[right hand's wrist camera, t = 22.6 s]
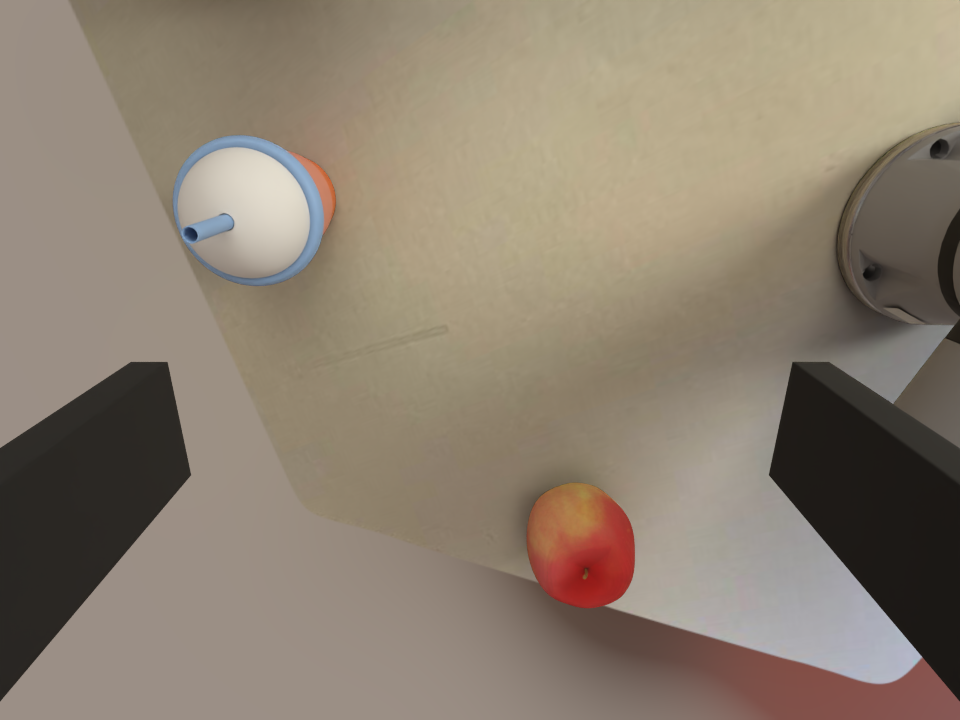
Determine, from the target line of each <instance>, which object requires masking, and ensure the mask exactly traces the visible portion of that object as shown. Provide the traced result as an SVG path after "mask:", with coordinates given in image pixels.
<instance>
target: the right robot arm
mask: <svg viewBox="0 0 960 720" xmlns="http://www.w3.org/2000/svg"><path fill="white" fill-rule="evenodd" d="M837 252H838V261H839V266H840V270H841V273H842V276H843V278H844V280H845V282H846V284H847V286H848V288H849V289H850V290H851V292H852V293H853V294H854V295H855V296H856V297H857V299H858V300H860V301H861V302H862V303H863V304H864V305H866V306H868V307H869V308H871V309H873V310H875V311H877V312H879V313H881V314H883V315H885V316H887V317H890V318H892V319H895V320H898V321H901V322H905V323H910V324H922V325H955V326H954V327H953V328H952V329H951V331H950V332H949V333H948V335H947V336H946V337H945V338H944V339H943V340H942V342H941V343H940V344H939V346H938V347H937V348H936V349H935V351H934V352H933V353H932V355H931V356H930V357H929V359H928V360H927V361H926V362H925V364H924V365H923V366H922V368H921V369H920V370H919V371H918V373H917V374H916V375H915V377H914V378H913V379H912V381H911V382H910V383H909V384H908V386H907V387H906V388H905V390H904V391H903V392H902V393H901V395H900V396H899V397H898V399H897V400H896V401H895V403H894V404H892V403H890V402H889V401H887V400H886V399H884V398H883V397H881V396H880V395H878V394H877V393H875V392H874V391H872V390H871V389H869V388H868V387H866V386H865V385H863V384H862V383H860V382H859V381H857V380H855V379H854V378H852V377H851V376H849V375H848V374H846V373H845V372H843V371H842V370H840V369H839V368H837V367H836V366H834V365H833V364H831V363H830V362H792V367H791V372H790V377H789V382H788V386H787V391H786V396H785V401H784V405H783V410H782V415H781V420H780V425H779V429H778V434H777V439H776V444H775V449H774V453H773V458H772V463H771V468H770V473H769V476H770V477H771V478H772V479H773V480H774V482H775V483H776V484H777V485H778V486H779V488H780V489H781V490H782V491H783V492H784V493H785V495H786V496H787V497H788V498H789V499H790V501H791V502H792V503H793V504H794V505H795V507H796V508H797V509H798V510H799V511H800V512H801V514H802V515H803V516H804V517H805V518H806V520H807V521H808V522H809V523H810V524H811V525H812V527H813V528H814V529H815V530H816V531H817V533H818V534H819V535H820V536H821V537H822V539H823V540H824V541H825V542H826V543H827V544H828V546H829V547H830V548H831V549H832V550H833V552H834V553H835V554H836V555H837V556H838V557H839V559H840V560H841V561H842V562H843V563H844V565H845V566H846V567H847V568H848V569H849V571H850V572H851V573H852V574H853V575H854V576H855V578H856V579H857V580H858V581H859V582H860V584H861V585H862V586H863V587H864V588H865V589H866V591H867V592H868V593H869V594H870V595H871V597H872V598H873V599H874V600H875V601H876V603H877V604H878V605H879V606H880V607H881V608H882V610H883V611H884V612H885V613H886V614H887V616H888V617H889V618H890V619H891V620H892V622H893V623H894V624H895V625H896V626H897V627H898V629H899V630H900V631H901V632H902V633H903V635H904V636H905V637H906V638H907V639H908V640H909V642H910V643H911V644H912V645H913V646H914V648H915V649H916V650H917V651H918V652H919V654H920V655H921V656H922V657H923V658H924V659H925V661H926V662H927V663H928V664H929V665H930V666H931V668H932V669H933V670H934V671H935V672H936V674H937V675H938V676H939V677H940V678H941V680H942V681H943V682H944V683H945V684H946V686H947V687H948V688H949V689H950V690H951V691H952V693H953V694H954V695H955V696H956V697H957V699H958V700H959V701H960V123H952V124H946V125H941V126H937V127H933V128H930V129H928V130H925V131H922V132H920V133H918V134H916V135H913V136H911V137H910V138H908V139H906V140H904V141H903V142H901V143H900V144H898V145H897V146H895V147H894V148H892V149H891V150H890V151H888V152H887V153H886V154H885V155H884V156H882V157H881V158H880V159H879V160H878V161H877V162H876V163H875V164H874V165H873V166H872V167H871V168H870V169H869V171H868V172H867V173H866V174H865V176H864V177H863V178H862V179H861V181H860V182H859V184H858V185H857V187H856V188H855V190H854V192H853V193H852V195H851V197H850V199H849V201H848V203H847V205H846V208H845V210H844V213H843V216H842V219H841V223H840V227H839V233H838V242H837ZM190 476H191V473H190V468H189V463H188V458H187V453H186V449H185V444H184V439H183V434H182V430H181V425H180V420H179V415H178V410H177V405H176V401H175V396H174V391H173V386H172V382H171V377H170V372H169V367H168V363H167V362H130V363H129V364H127V365H126V366H124V367H123V368H121V369H120V370H118V371H117V372H115V373H114V374H112V375H111V376H109V377H108V378H106V379H105V380H103V381H101V382H100V383H98V384H97V385H95V386H94V387H92V388H91V389H89V390H88V391H86V392H85V393H83V394H82V395H80V396H79V397H77V398H76V399H74V400H73V401H71V402H70V403H68V404H67V405H65V406H63V407H62V408H60V409H59V410H57V411H56V412H54V413H53V414H51V415H50V416H48V417H47V418H45V419H44V420H42V421H41V422H39V423H38V424H36V425H35V426H33V427H32V428H30V429H29V430H27V431H26V432H24V433H23V434H21V435H20V436H18V437H16V438H15V439H13V440H12V441H10V442H9V443H7V444H6V445H4V446H3V447H1V448H0V701H1V700H2V699H3V697H4V696H5V695H6V694H7V693H8V691H9V690H10V689H11V688H12V687H13V685H14V684H15V683H16V682H17V681H18V680H19V678H20V677H21V676H22V675H23V674H24V672H25V671H26V670H27V669H28V668H29V667H30V665H31V664H32V663H33V662H34V661H35V659H36V658H37V657H38V656H39V655H40V654H41V652H42V651H43V650H44V649H45V647H46V646H47V645H48V644H49V643H50V642H51V640H52V639H53V638H54V637H55V636H56V635H57V633H58V632H59V631H60V630H61V629H62V627H63V626H64V625H65V624H66V623H67V622H68V620H69V619H70V618H71V617H72V615H73V614H74V613H75V612H76V611H77V610H78V608H79V607H80V606H81V605H82V604H83V603H84V601H85V600H86V599H87V598H88V597H89V595H90V594H91V593H92V592H93V591H94V589H95V588H96V587H97V586H98V585H99V584H100V582H101V581H102V580H103V579H104V578H105V576H106V575H107V574H108V573H109V572H110V571H111V569H112V568H113V567H114V566H115V565H116V563H117V562H118V561H119V560H120V559H121V557H122V556H123V555H124V554H125V553H126V551H127V550H128V549H129V548H130V547H131V546H132V544H133V543H134V542H135V541H136V540H137V538H138V537H139V536H140V535H141V534H142V533H143V531H144V530H145V529H146V528H147V527H148V525H149V524H150V523H151V522H152V521H153V520H154V518H155V517H156V516H157V515H158V514H159V512H160V511H161V510H162V509H163V508H164V506H165V505H166V504H167V503H168V502H169V501H170V499H171V498H172V497H173V496H174V495H175V493H176V492H177V491H178V490H179V489H180V487H181V486H182V485H183V484H184V483H185V482H186V480H187V479H188V478H189V477H190Z"/></svg>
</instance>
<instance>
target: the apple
mask: <svg viewBox="0 0 960 720" xmlns="http://www.w3.org/2000/svg"><path fill="white" fill-rule="evenodd" d="M527 550H528V556H529V560H530V564H531V567H532V570H533V572H534V574H535V577H536V579H537V580H538V582H539V584H540V585H541V587H542V588H543V589H544V590H545V592H546V593H547V594H549V595H550V596H551V597H553V598H554V599H556V600H558V601H560V602H563V603H566V604H569V605H572V606H576V607H580V608H595V607H600V606H604V605H607V604H610V603H612V602H614V601H616V600H617V599H619V598H620V597H621V596H622V595H623V594H624V593H625V592H626V590H627V589H628V587H629V585H630V583H631V581H632V578H633V573H634V565H635V544H634V535H633V530H632V527H631V524H630V521H629V519H628V517H627V515H626V514H625V512H624V511H623V510H622V509H621V508H620V506H619V505H618V504H617V503H616V502H615V501H614V500H613V499H612V498H611V497H609V496H608V495H607V494H606V493H605V492H603V491H602V490H600V489H599V488H597V487H595V486H592V485H588V484H583V483H568V484H564V485H560V486H558V487H555V488H553V489H551V490H549V491H547V492H546V493H544V494H543V495H542V496H540V497H539V499H538V500H537V501H536V503H535V504H534V506H533V508H532V510H531V513H530V517H529V521H528V526H527Z"/></svg>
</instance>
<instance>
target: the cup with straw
mask: <svg viewBox="0 0 960 720" xmlns="http://www.w3.org/2000/svg"><path fill="white" fill-rule="evenodd" d="M335 204H336V198H335V192H334V188H333V185H332V183H331V181H330V179H329V177H328V176H327V174H326V173H325V172H324V171H323V169H322V168H320V167H319V166H318V165H317V164H316V163H314V162H312V161H311V160H309V159H306V158H304V157H302V156H300V155H298V154H296V153H293V152H289V151H286V150H285V149H283V148H281V147H280V146H278V145H276V144H274V143H272V142H270V141H267V140H264V139H261V138H257V137H252V136H245V135H233V136H226V137H221V138H217V139H215V140H212V141H210V142H208V143H206V144H204V145H202V146H201V147H200V148H198V149H197V150H196V151H195V152H193V153H192V154H191V155H190V156H189V158H188V159H187V160H186V161H185V163H184V164H183V166H182V167H181V169H180V171H179V173H178V176H177V179H176V182H175V186H174V191H173V211H174V217H175V221H176V224H177V227H178V230H179V232H180V235H181V237H182V239H183V241H184V242H185V244H186V246H187V247H188V249H189V250H190V251H191V253H192V254H193V255H194V256H195V257H196V258H197V259H198V260H199V261H200V262H201V263H202V264H203V265H204V266H205V267H206V268H208V269H209V270H211V271H212V272H213V273H215V274H217V275H219V276H220V277H222V278H225V279H227V280H229V281H232V282H235V283H239V284H243V285H249V286H266V285H272V284H277V283H280V282H283V281H285V280H288V279H290V278H292V277H293V276H295V275H296V274H298V273H299V272H300V271H302V270H303V269H304V268H305V267H306V266H307V265H308V264H309V262H310V261H311V260H312V258H313V257H314V255H315V254H316V252H317V250H318V248H319V245H320V243H321V239H322V235H323V234H324V233H325V231H326V230H327V228H328V226H329V223H330V220H331V219H332V216H333V214H334V211H335Z"/></svg>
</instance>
